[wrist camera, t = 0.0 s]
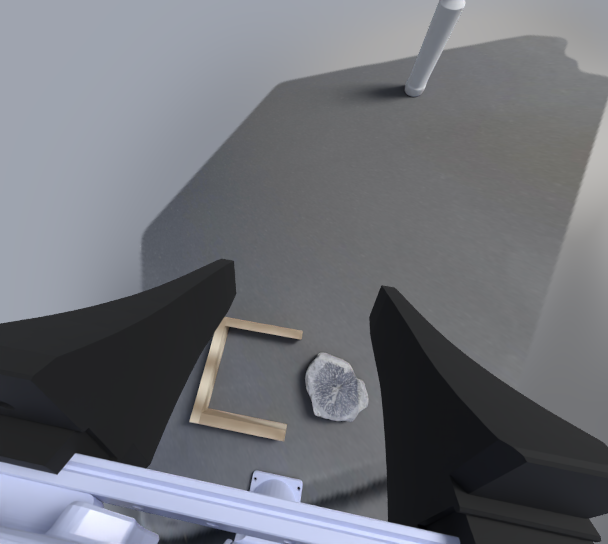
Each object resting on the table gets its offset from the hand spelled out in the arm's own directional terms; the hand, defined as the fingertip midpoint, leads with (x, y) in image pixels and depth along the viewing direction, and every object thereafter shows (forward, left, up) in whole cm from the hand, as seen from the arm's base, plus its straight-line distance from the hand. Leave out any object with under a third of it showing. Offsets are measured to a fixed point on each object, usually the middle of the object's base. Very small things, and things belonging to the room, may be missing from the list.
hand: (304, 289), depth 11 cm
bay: (-10, +7, -32) cm, 34 cm away
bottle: (+67, -19, -32) cm, 77 cm away
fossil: (-10, -7, -33) cm, 35 cm away
